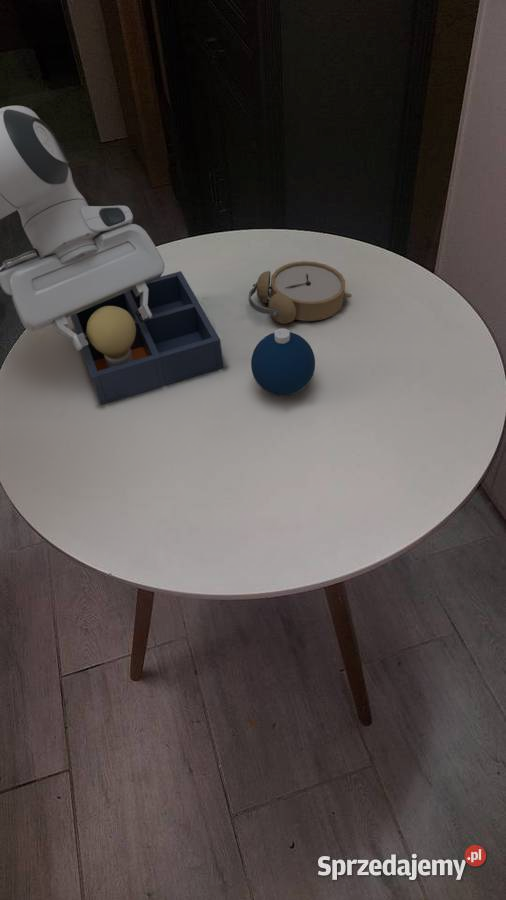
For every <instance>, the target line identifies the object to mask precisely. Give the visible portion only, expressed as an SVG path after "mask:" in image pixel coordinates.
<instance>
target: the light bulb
mask: <svg viewBox="0 0 506 900" xmlns="http://www.w3.org/2000/svg"><path fill="white" fill-rule="evenodd" d="M135 335H136V326H135V322H134V320H133V318H132V316H131V315H130V314H129V313H128V312H127V311H126V310H124V309H122V308H120V307H116V306H104V307H101V308H99V309H98V310H96V311H95V312H94V313H93V314H92V315H91V317H90V318H89V320H88V323H87V336H88V339H89V341H90V343H91V344H92V345H93V346H94V347H95V348H96V349H97V350H98V351H100V352H101V353H103V354H104V358H105V360H106V364H107V368H110V367H113V366H117V365H120V364H123V363H127V362H130V361H134V360H133V356H132V352H131V349H130V347H131V345H132V344H133V342H134V339H135Z"/></svg>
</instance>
